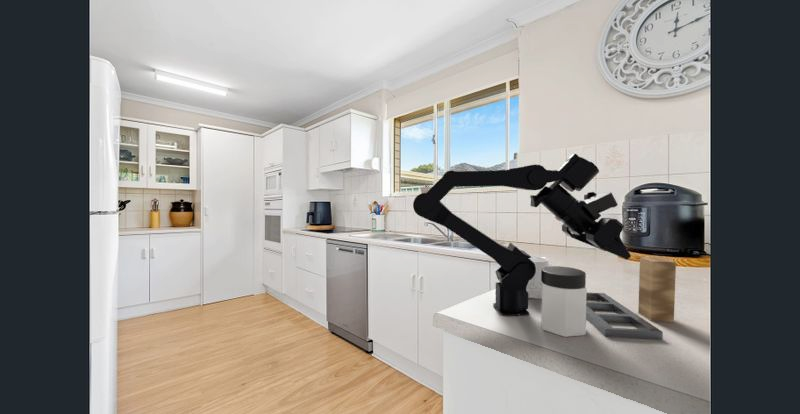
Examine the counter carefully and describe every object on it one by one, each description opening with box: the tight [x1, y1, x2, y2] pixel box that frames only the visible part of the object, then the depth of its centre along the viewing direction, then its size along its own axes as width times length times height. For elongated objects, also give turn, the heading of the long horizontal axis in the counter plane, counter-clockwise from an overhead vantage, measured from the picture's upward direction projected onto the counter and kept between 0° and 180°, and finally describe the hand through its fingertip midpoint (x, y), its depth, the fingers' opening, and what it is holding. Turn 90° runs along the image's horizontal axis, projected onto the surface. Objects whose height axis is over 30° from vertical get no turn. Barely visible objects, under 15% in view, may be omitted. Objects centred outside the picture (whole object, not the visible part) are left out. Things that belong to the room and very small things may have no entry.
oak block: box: [637, 256, 677, 323], centre depth 70 cm, size 4×4×13 cm
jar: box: [540, 265, 588, 338], centre depth 65 cm, size 9×8×12 cm
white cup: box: [526, 255, 549, 299], centre depth 86 cm, size 8×8×10 cm
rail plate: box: [586, 292, 664, 341], centre depth 72 cm, size 10×23×2 cm, turn 171°
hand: (617, 253), depth 71 cm, fingers open, 9 cm apart
